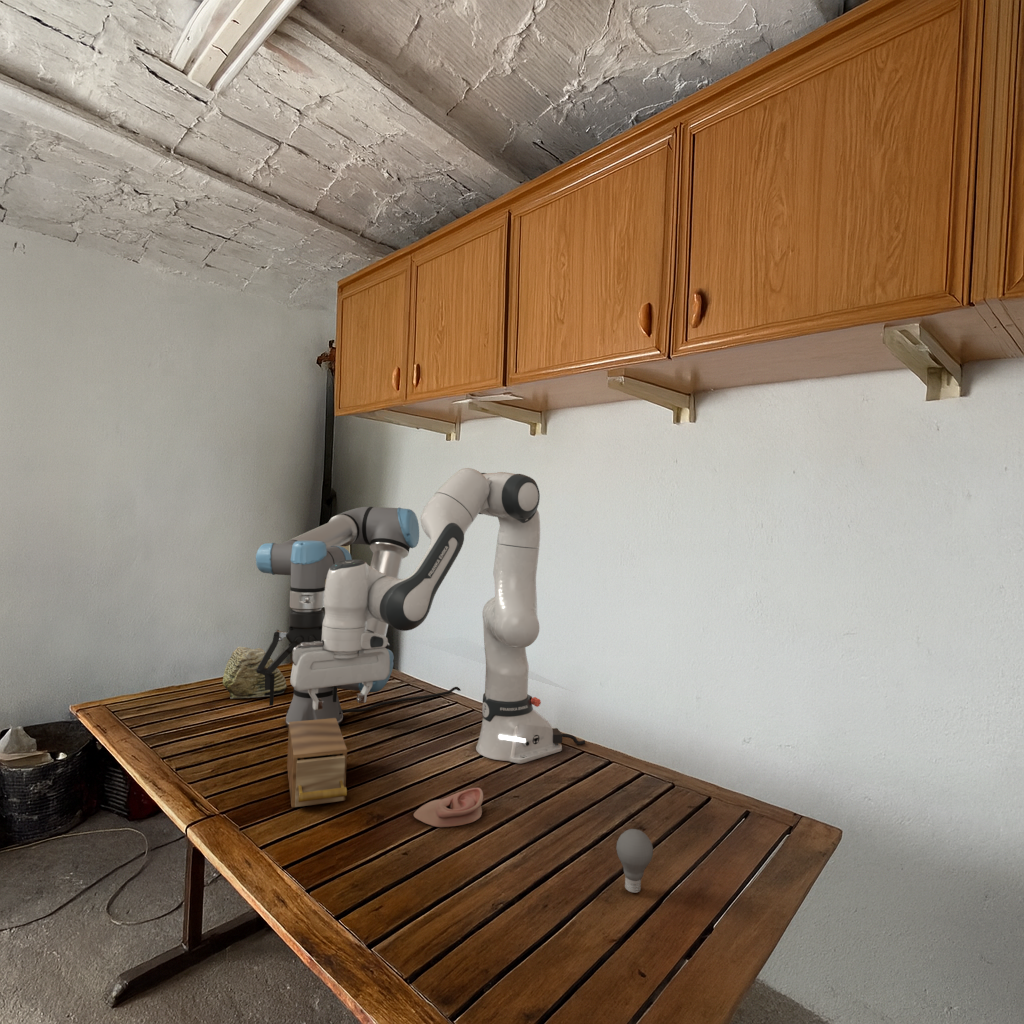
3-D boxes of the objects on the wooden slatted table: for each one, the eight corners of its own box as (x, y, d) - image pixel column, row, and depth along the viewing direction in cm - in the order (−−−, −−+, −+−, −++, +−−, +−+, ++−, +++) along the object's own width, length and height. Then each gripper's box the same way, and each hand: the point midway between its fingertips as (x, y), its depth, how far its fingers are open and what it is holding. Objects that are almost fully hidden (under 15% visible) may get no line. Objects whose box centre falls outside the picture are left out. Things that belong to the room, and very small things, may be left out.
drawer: (347, 813, 126) (348, 768, 125) (297, 820, 122) (298, 774, 122) (333, 764, 148) (334, 726, 148) (290, 769, 144) (292, 730, 144)
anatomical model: (408, 802, 124) (427, 778, 135) (407, 822, 124) (427, 796, 136) (473, 812, 122) (488, 786, 133) (473, 832, 122) (487, 805, 133)
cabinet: (345, 800, 133) (347, 749, 132) (291, 807, 129) (293, 754, 128) (334, 762, 151) (336, 717, 151) (287, 768, 147) (288, 721, 147)
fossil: (218, 695, 195) (220, 647, 195) (278, 685, 208) (279, 640, 207) (228, 703, 189) (230, 653, 188) (289, 692, 201) (290, 645, 201)
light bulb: (610, 879, 108) (613, 822, 108) (644, 879, 109) (647, 822, 109) (619, 902, 102) (622, 840, 102) (655, 901, 103) (658, 840, 103)
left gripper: (246, 612, 136) (242, 710, 137) (364, 611, 144) (360, 704, 144) (249, 606, 143) (245, 699, 144) (361, 605, 151) (358, 693, 151)
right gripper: (298, 646, 122) (294, 718, 122) (395, 638, 134) (391, 703, 134) (287, 639, 127) (283, 708, 127) (382, 632, 139) (378, 694, 139)
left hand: (303, 702), depth 144 cm, fingers open, 13 cm apart
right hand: (339, 705), depth 131 cm, fingers open, 8 cm apart
